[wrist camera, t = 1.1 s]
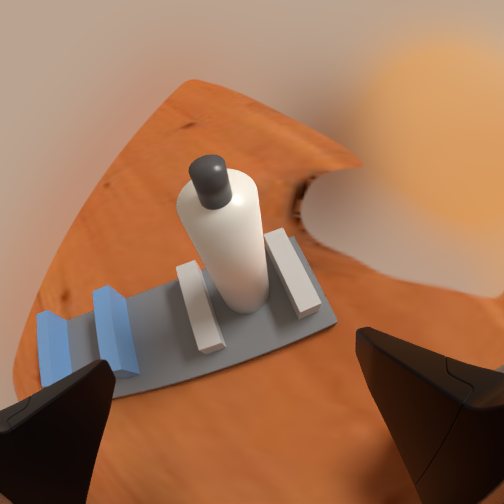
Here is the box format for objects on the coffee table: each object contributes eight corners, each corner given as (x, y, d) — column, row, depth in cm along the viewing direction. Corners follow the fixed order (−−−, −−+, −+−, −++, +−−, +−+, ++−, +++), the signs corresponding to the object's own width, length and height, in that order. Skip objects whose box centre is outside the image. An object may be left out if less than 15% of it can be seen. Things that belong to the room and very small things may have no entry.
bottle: (276, 303, 22) (268, 180, 10) (231, 320, 22) (169, 216, 10) (259, 264, 24) (236, 130, 12) (217, 280, 24) (158, 157, 12)
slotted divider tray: (336, 324, 22) (346, 309, 18) (64, 407, 19) (37, 403, 16) (293, 240, 26) (294, 215, 23) (54, 328, 24) (30, 316, 20)
